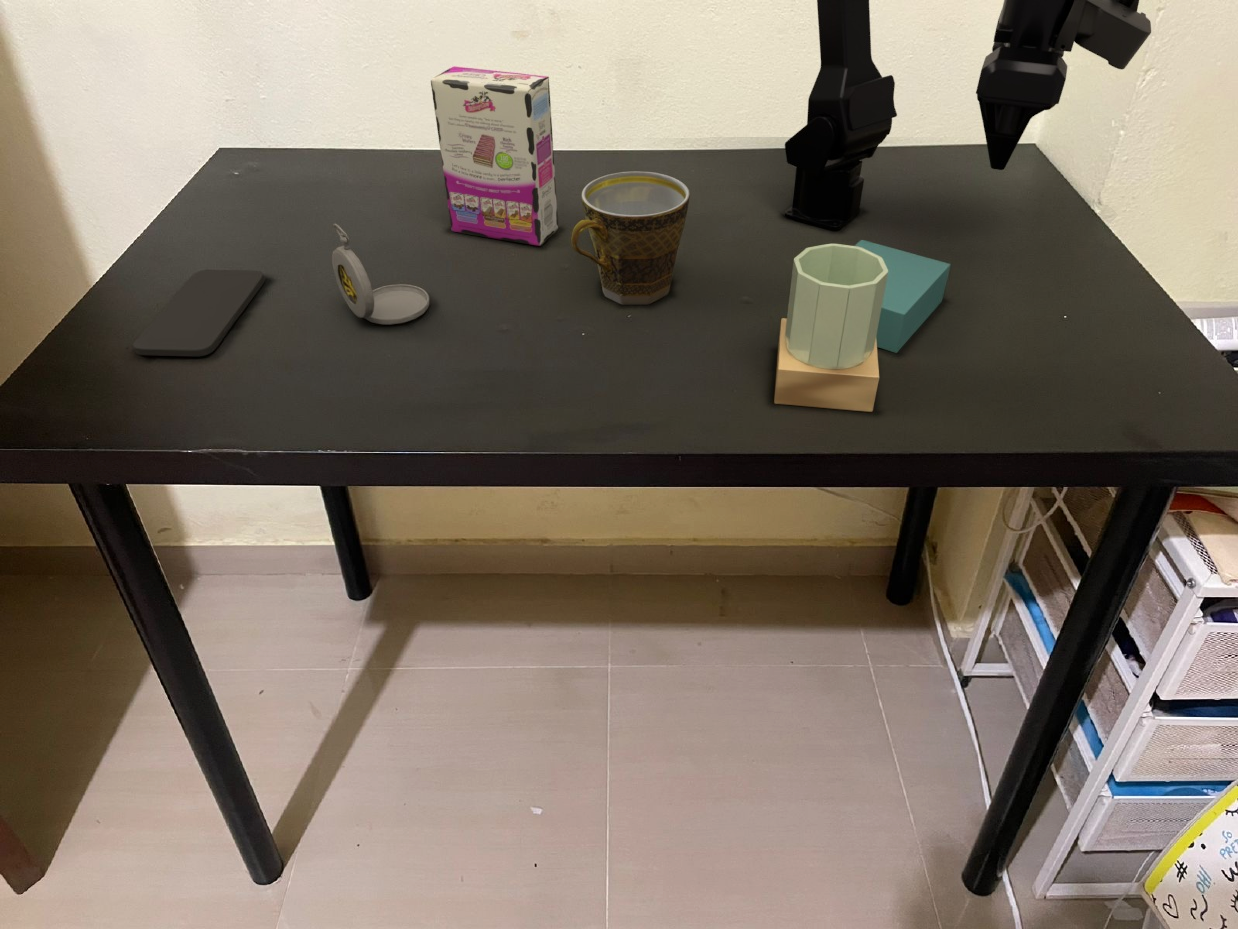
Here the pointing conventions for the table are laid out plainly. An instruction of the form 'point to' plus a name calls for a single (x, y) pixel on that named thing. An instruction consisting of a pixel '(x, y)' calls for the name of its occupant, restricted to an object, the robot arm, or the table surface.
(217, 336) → the phone
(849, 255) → the pale green faceted cup
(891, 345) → the box
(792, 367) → the tan block
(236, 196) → the table surface
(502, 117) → the candy bar box
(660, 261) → the ceramic cup
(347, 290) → the pocket watch
